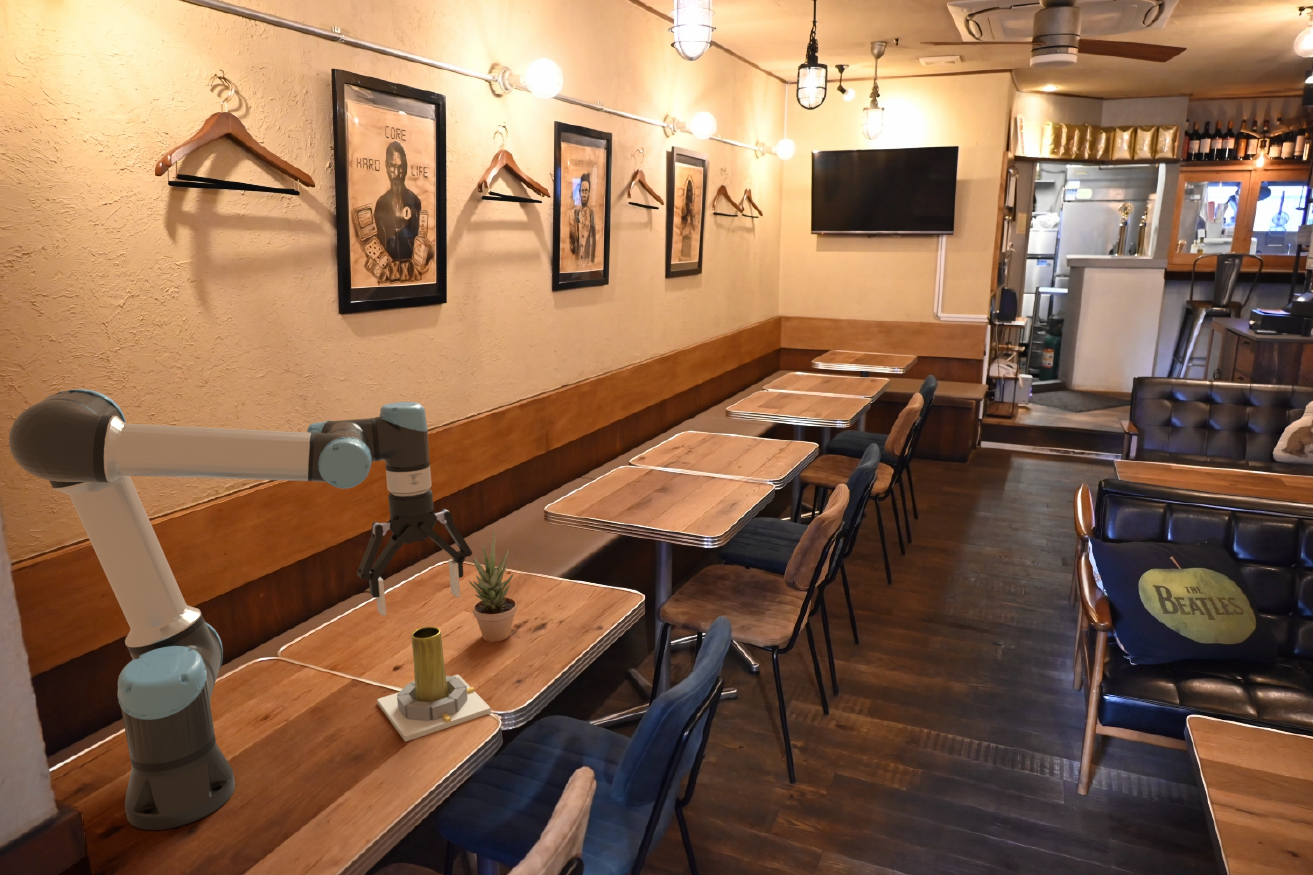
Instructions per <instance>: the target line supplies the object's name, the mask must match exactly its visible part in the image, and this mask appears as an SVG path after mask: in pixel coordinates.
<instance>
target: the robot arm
mask: <svg viewBox="0 0 1313 875" xmlns="http://www.w3.org/2000/svg"><path fill="white" fill-rule="evenodd" d="M379 412H380V413H379V416H375V417H370V418H368V417H367V418H355V419H344V420H342V419H340V420H331V419H329V420H325V421H321V422H313V423H310V424H309V425H308V427H307V431H283V430H264V429H261V430H260V429H243V428H225V427H224V428H223V427H209V426H207V427H205V426H202V427H201V426H188V425H187V426H184V425H182V426H181V425H165V424H144V423H143V424H141V423H128V422H126V417H125V415H124V413H123V410H122V409H121V407H120V406H119V404H117V402H115V400H113V399H112V398H111V397H109V396H107V395H106V394H104V393H101V392H100V391H96V390H92V389H87V388H86V389H85V388H74V389H73V388H72V389H68V390H61V391H59V392H56V393H53V394H50V395H49V396H47V397H45V399H43V400H41V401H39V402H38V403H35V404H33V405H30V406H29V407H28V408H26V409H25V410H23V411H22V412H21V413H20V414H18V416H17V417H16V419H15V420H14V421H13V423H12V425H11V428H10V429H9V430H10V431H9V432H8V433H9V434H8V446H9V451H10V453H11V455H12V457H13V459H14V460H15V462H16V463H17V464H18V465H19V466H20V467H21V469H23V470H24V471H25V472H27V473H29V474H30V475H32V476H34V477H37V478H39V479H42V480H45V481H49V483H50V486H51V488H52V489H53V490H54V491H56V492H58V493H59V492H60V493H62V494H65V495H67V496H68V497H69V498H70V500H71V503H72V505H73V507H74V509H75V512H76V514H77V515H78V517H79V520H80V522H81V524H82V527H83V528H84V531H85V533H86V535H87V537H88V539H89V542H90V543H91V546H92V548H93V550H94V553H95V554H96V556H97V558H98V561H99V563H100V566H101V567H102V570H103V572H104V574H105V576H106V579H107V580H108V583H109V585H110V587H111V589H112V591H113V593H114V596H115V598H116V600H117V602H118V605H119V607H120V608H121V611H122V613H123V616H124V617H125V620H126V622H127V623H128V626H129V628H130V629H129V630H130V631H129V632H128V634H127V636H126V637H125V640H124V643H125V646H126V647H127V650H128V652H129V654H130V656H131V658H132V660H130V661H129V662H128V663H127V664H126V665H125V666H124V667H123V668H122V670H121V672H120V674H119V675H118V679H117V699H118V704H119V707H120V710H121V716H122V721H123V725H124V726H123V728H124V732H125V737H126V742H127V747H128V753H129V758H130V759H129V760H130V764H131V771H130V775H129V780H128V784H127V789H126V792H125V793H126V794H125V799H124V808H125V815H126V818H127V822H128V823H129V824H130V825H131V826H133V827H135V828H136V829H140V830H146V831H161V830H168V829H169V830H170V829H174V828H178V827H183V826H185V825H188V824H191V823H193V822H196V821H198V820H200V819H203V818H205V817H207V816H209V815H211V814H212V813H214V812H216V810H218V809H219V808H221V807H222V806H223V805H225V803H226V802H228V800H229V799H230V798H231V797H232V795H233V793H234V792H235V788H236V782H235V774H234V771H233V768H232V766H231V765H230V763H229V761H228V760H227V758H226V756H225V755H224V753H223V752H222V750H221V748H220V746H219V745H218V744H217V739H216V734H215V727H214V721H213V715H212V707H211V706H212V704H211V700H212V696H213V691H214V689H215V688H214V687H215V686H216V685H215V684H216V682H217V678H218V676H219V674H220V670H221V668H222V664H223V661H224V660H223V658H224V655H223V654H224V650H223V649H224V648H223V643H222V640H221V637H220V636H219V633H218V632H217V631H216V629H215V628H214V627H213V626H212V625H210V624H209V623H208V622H206V621H205V618H204V616H203V615H202V612H201V610H200V609H199V608H196V607H193V606H191V605H188V604H187V603H186V601H185V598H184V597H183V594H182V592H181V589H180V587H179V585H178V583H177V579H176V578H175V575H174V573H173V571H172V569H171V567H170V564H169V562H168V560H167V558H166V555H165V552H164V550H163V548H162V546H161V544H160V541H159V539H158V536H157V534H156V532H155V530H154V528H153V525H152V523H151V521H150V518H149V516H148V513H147V512H146V509H145V507H144V505H143V502H142V500H141V498H140V496H139V493H138V491H137V489H136V487H135V483H134V482H133V479H132V478H131V477H155V478H156V477H157V478H160V477H161V478H186V479H188V478H191V479H192V478H193V479H195V478H196V479H225V480H226V479H227V480H231V479H232V480H256V481H257V480H259V481H263V480H264V481H292V482H293V481H295V482H296V481H299V482H316V483H317V482H319V483H320V482H321V483H322V482H323V483H327V484H329V485H331V486H332V487H335V488H337V489H350V488H351V489H352V488H355V487H357V486H359V485H360V484H361V483H362V482H363V481H364V480H366V478H367V477H368V475H369V474H370V471H371V466H372V463H373V462H380V461H384V463H385V465H384V466H385V475H386V487H387V488H386V489H387V491H388V492H389V493H388V496H387V499H388V510H389V511H388V512H389V520H388V522H381V523H380V522H378V521H373V522H372V524H371V535H370V538H369V540H368V543H367V546H366V548H365V551H364V553H363V556H362V559H361V562H360V564H359V565H358V569H357V572H356V574H357V576H358V577H359V578H360V579H361V580H362V581H365V580H368V583H369V592H370V593H369V594H370V595H371V597H372V598H373V599H376V606H377V612H378V613H379V614H380V615H381V616H382V617H384V616H387V604H386V595H385V585H384V584H385V583H384V579H383V578H382V577H381V576H382V574H383V572H384V571H385V570H386V568H387V567H388V566H389V564H390V562H391V561H392V559H393V558H394V556H395V555H396V553H397V552H398V550H399V549H401V548H402V547H403V545H404V544H407V545H410V544H413V543H415V542H424V541H426V539H427V538H430V539H431V540H432V541H433V542H435V544H436V545H438V546H439V547H440V548H441V549H442V550H444V552H446V553H447V554H448V555H449V556H451V557H452V558H451V559H448V572H449V583H450V584H449V585H450V593H451V594H452V595H453V597H455V598H460V597H461V590H460V589H461V587H460V579H461V578H463V577H464V564H463V563H465V561H466V558H467V557H469V558H470V557H471V556H472V554H473V551H472V550H471V548H470V547H469V545H468V543H467V542H466V540H465V539H464V537H463V536H462V534H461V532H460V530H459V529H458V527H457V525H455V523H454V518H453V514H452V512H450V511H449V510H447V509H446V508H442V509H441V510H440V511H439V512H435V511H434V510H435V509H434V508H435V506H434V499H433V498H434V496H433V494H434V493H433V491H432V489H431V487H432V486H433V485H432V472H431V463H430V461H431V460H430V447H429V431H428V429H429V428H428V424H427V416H426V409H425V407H424V406H423V405H422V404H421V403H419V402H416V401H415V402H413V401H400V402H393V403H386V404H384V405H382V406H381V407H380V410H379ZM437 521H439V523H441V524H443V526H444V527H445V529H446V530H447V532H448V533H449V535H450V536H451V538H452V539H453V541H454V542H455V544H456V546H457V547H458V548H459V550H458V551H457V550H456V549H455V548H453V547H452V546H451V545H450V544H449V543H448V542H447V541H446V540H444V539H443V538H442V537H441V536H440V535H439V534H438V533H437V532H436V531H434V530H433V529H434V527H435V525H436V524H437ZM389 530H390V531H391V532H392V534H391V536H390V537H389V539H388V543H387V544H386V545H385V547H384V548H383V550H382V551H381V553H380V554H379V556H378V558H376V557H377V554H378V552H379V549H380V546H381V544H382V542H383V538H384V536H385V535H386V534H387V531H389ZM375 559H376V560H375Z"/></svg>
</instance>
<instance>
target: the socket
mask: <svg viewBox="0 0 1313 875" xmlns="http://www.w3.org/2000/svg"><path fill="white" fill-rule="evenodd" d="M446 681H447V688H448V696H449V697H447V698H443V699H440V700H437V701H434V702H418V701H416V694H415V680H413V681H410V682H409V683H407V684H406V685H405V686H404V687H403V688H402V689H401V690H400V691H399V692H395V693H392V694H388V695H386V696H383V697H380V698H377V700H376V701H377V705H378V706H379V708H380V709H381V711H382V712H383V713H384V714H385V716H386V717H387V719H388V720H389V721H390V723H391V724H392V726H393V727H394V728H395V730H396V731H397V732H398V734H399V735H400V737H401V738H402V739H403V741H404V742H409V741H412V740H415V739H418V738H421V737H424V736H427V735H429V734H432V733H437V732H439V731H442V730H444V729H447V728H451V727H453V726H457V725H459V724H462V723H465V722H469V721H472V720H474V719H476V718H480V717H483V716H486V715H489V714H491V713H492V708H491V707H490V705H489V704H488V703H487V702H486V701H485V700H484V699H483V698H482V697H481V696H480V695H479V694H478V693H477V692H476V691H475V688H474V686H470V685H469V684H468V682H466V681H465V680H464V678H462V677H461V676H460V675H459V674H454V675H446Z"/></svg>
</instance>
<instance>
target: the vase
mask: <svg viewBox="0 0 1313 875" xmlns="http://www.w3.org/2000/svg"><path fill="white" fill-rule="evenodd" d="M410 638H411V648H412V657H413V668H414V681H415V694H416V701H418V702H434V701H437V700H440V699H443V698H447V697H449V696H448V688H447V681H446V676H447V675H446V668H445V666H446V665H445V660H444V649H443V639H442V638H443V637H442V630H441V629H440V628H439V627H436V626H424V627H423V626H422V627H419V628H417V629H415V630H413V631H412V633H411V636H410Z"/></svg>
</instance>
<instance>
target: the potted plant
mask: <svg viewBox="0 0 1313 875" xmlns="http://www.w3.org/2000/svg"><path fill="white" fill-rule="evenodd" d="M495 535H496V534H495V528H492V542H491V547H490V556H489V559H488V553H487V552H486V548H485V546H484V543H482V553H483V554H482V555H483V562H484V566H485V569H484V567H483V566H482V564H481V563H480V562H479V561H478V559H477V558H476V556H473V557H474V560H473V564H474V566H475V569H476V570H477V574H478V575H479V576H478V575H477V574H476V575H475V578H476V580H477V582H476V581H472V582H473V583H472V582H471V581H470V580H467V581H468V584H470V585H471V586H472V588H474V589H473V590H475V593H477V594H474V596H476V597H477V598H478V599H480V600H477V601H476V602H474V604H473V605H472V615H473V616H474V618H476V619H475V620H476V621H477V624H478V626H479V630H480V632H481V637H482V639H483V640H484V641H487V642H491V643H492V642H493V643H494V642H495V643H496V642H500V641H501V642H502V641H503V640H506V639H508V638H509V637H510V635H511V633H512V627H513V622H514V617H515V614H516V613H517V610H518V603H517V601H516V600H515V599H514V598H511V597H509V596H507V594H508V592H509V588H510V587H511V584H509V583H510V582H511V581H512V578H513V577H514V573H513V574H511V575H510V576H509V577H508V579H507V580H504V581H503V576H504V575H505V572H506V570H507V567H508V563H509V560H508V561H507V557H508V555H509V550H510V549H509V548H508V549H507V550H506V552H505V554H504V555H503V558H502V560H501V561H500V563H499V565H498V566H496V536H495ZM505 562H506V563H505ZM502 581H503V582H502Z"/></svg>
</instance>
